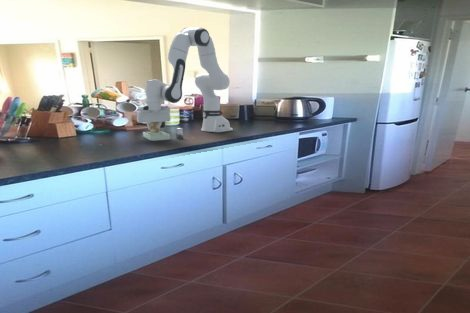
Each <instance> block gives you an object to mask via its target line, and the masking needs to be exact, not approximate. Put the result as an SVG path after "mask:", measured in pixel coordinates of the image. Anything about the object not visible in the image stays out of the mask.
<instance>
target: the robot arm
mask: <svg viewBox="0 0 470 313" xmlns="http://www.w3.org/2000/svg"><path fill="white" fill-rule="evenodd" d="M213 41H214V40H213V39H212V37H211V36H210V33H209V31H208V30H207V29H206V28H203V27H193V26H192V27H184V28H182V29H181V30H180V31H179V32H177V33H176V34H175V35H174V37H173V38H172V41H171V43H170V46H169V49H168V56H167V60H168V62H169V64H170V65H171V66H172V68H173V73H172V78H171V82H170V84H167V83H165V82H163V81H161V79H159V78H154V79H148V80H147V81H146V84H145V97H146V98H145V99H146V100H145V103H143V104H140V105H138V107H137V109H138V110H137V114H136V121H137V123H139V124H143V123H146V126H147V128H148V130H149V131H150V130H151V127H150V122H158V123H159V125H158V126H159V129H160V126H161V124H162V122H165V123H166V122H171V108H170V107H169V106H168V105H166V106H162V101H166V102H169V103H172V104H177V103H179V102H180V100H182V98H183V81H184V76H185V71H186V62H187V57H188V54H189V49H190V47H196V48H197V52H198V59H199V62H200V66H201V68H202V69H204V70H205V71H206V72H204V73H203V72H201V73H198V74H196V76H195V78H194V79H195V80H194V83H195V86H196V87H197V88H198V89H199V91H200V92H201V96H202V98H203V110H202V118H203V120H202V126H201V129H200V130H201V131H203V132H210V133H211V132H212V133H222V132H231V131H234V129H233V127H231V125H230V121H229V120H228V119H227V118H225V117H224V114H225V111H224V110H220V108H221V106H220V105H221V99H220V97H219V96H217V95H216V93H215V91H223V90H227V89H228V88H229V86H230V83H231V82H230V77H229V76H228V75H227V74H226V73H225V72H224V71H223V70H222V69H221V67H220V66H219V63H218V59H217V58H218V57H217V54H216V49H215V44H214V42H213Z"/></svg>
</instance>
